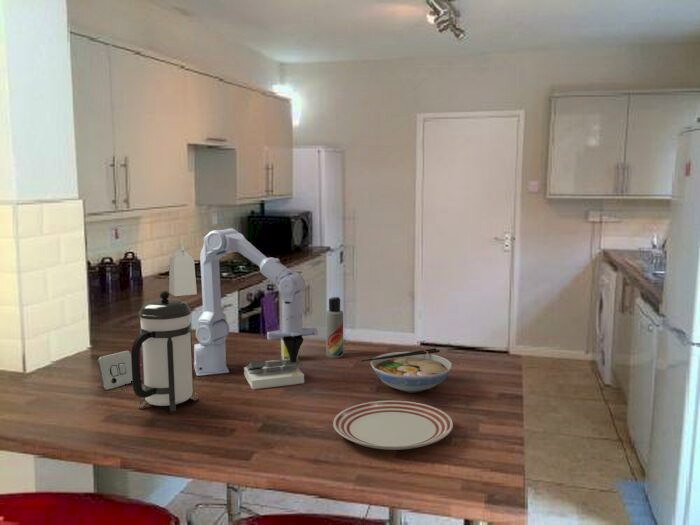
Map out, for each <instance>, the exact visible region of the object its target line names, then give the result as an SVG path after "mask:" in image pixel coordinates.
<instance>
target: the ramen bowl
mask: <svg viewBox="0 0 700 525" xmlns="http://www.w3.org/2000/svg"><path fill="white" fill-rule="evenodd" d="M437 353H440V349H437V348H436V347H434V348H429V349H427V348H426V349H423V350H414V351H397V352H389V353H384V354H380V355H377V356H375V357H373V358H368V359H361V360H360V362H369V361H370V366H371V367H372V369H373V371H374V373H375V374H376V376H377V377H378V379H379V380H380V381H381V382H382V383H384V384H385V385H387V386H389V387H391V388H393V389H396V390H399V391H400V392H403V393H404V392H405V393H410V394H413V393H420V392H423V391H425V390H426V391H427V390H430V389H432V388H434V387H436V386H438V385H439V384H440V383H442V382H443V381H444V380H445V379H446V378H447V377H448V375H449V374H450V372H451V369H452V367H453V366H452V365H453V364H452V362H451V361H450V360H449V359H448V358H446V357H442V356H440V355H437Z"/></svg>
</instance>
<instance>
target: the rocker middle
mask: <svg viewBox="0 0 700 525" xmlns="http://www.w3.org/2000/svg"><path fill="white" fill-rule="evenodd" d="M264 361H265V360H264ZM277 366H283V363H282V361H280V360H278V359H273V360H266V361H265V367H277Z"/></svg>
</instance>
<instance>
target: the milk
mask: <svg viewBox="0 0 700 525" xmlns="http://www.w3.org/2000/svg"><path fill="white" fill-rule="evenodd" d="M168 263H169V265H168V266H169V268H168V270H169V272H168V274H169V275H168V276H169V284H168V286H169V288H168V290H169V292H168V293H169V294H171V295H172V296H174V297H178V296H180V297H183V296H192V295H197V294H198V293H197V291H198V290H197V280H196V279H197V278H196V268H195V267H196V265H195V259H194V258H193V257H192V256H191V254H189V253H188V252H187V251H186V250H185V245H184V244H182V243H178V246H177V250H175V251H174V252H173V253H172V255H170V257H169V260H168Z"/></svg>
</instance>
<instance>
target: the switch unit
mask: <svg viewBox="0 0 700 525" xmlns="http://www.w3.org/2000/svg"><path fill="white" fill-rule="evenodd" d="M297 365H298V364H297ZM297 365H288V366H285V365H283V366H277V367H263V368H261V369H254V370H248V368H247V366H244V367H243V371H244V372H243V375H244V377H245V379H246V380H247V382H248V385H249V386H250V388H251V389H252V390H258V389H265V388H267V389H268V388H275V387H284V386H291V385H292V386H293V385H299V384H305V373H303V372H302V371H301V370H300V368H299V367H298V366H297Z"/></svg>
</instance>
